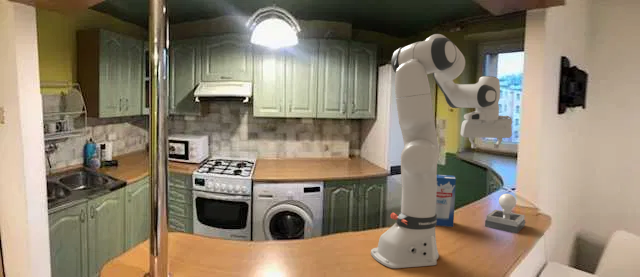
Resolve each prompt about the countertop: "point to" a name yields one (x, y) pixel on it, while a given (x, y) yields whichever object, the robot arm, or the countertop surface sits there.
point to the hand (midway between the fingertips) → (485, 148)
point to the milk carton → (445, 200)
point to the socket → (505, 221)
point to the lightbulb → (507, 204)
